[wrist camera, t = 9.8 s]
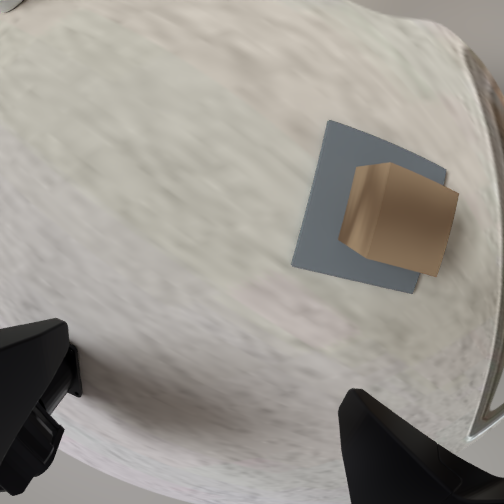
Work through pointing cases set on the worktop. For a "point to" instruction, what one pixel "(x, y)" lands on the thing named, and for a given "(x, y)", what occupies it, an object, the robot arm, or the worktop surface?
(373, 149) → the slate pad
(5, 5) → the milk bottle
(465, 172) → the worktop surface
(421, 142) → the worktop surface
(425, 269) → the walnut cube
